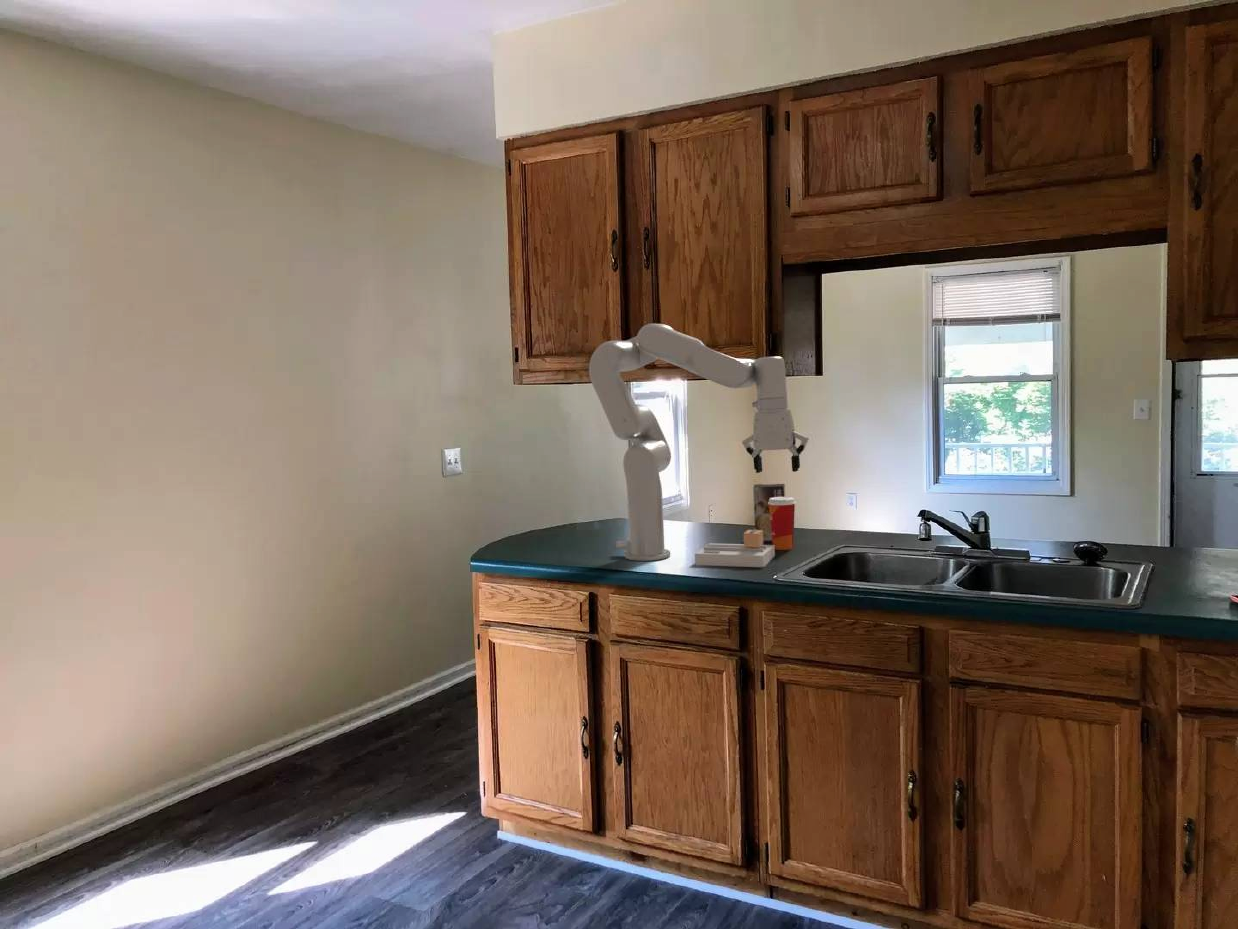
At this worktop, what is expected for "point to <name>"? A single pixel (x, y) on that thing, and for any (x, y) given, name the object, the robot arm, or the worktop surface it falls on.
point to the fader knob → (753, 538)
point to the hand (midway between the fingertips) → (777, 471)
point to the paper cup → (782, 522)
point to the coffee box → (765, 506)
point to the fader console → (734, 555)
